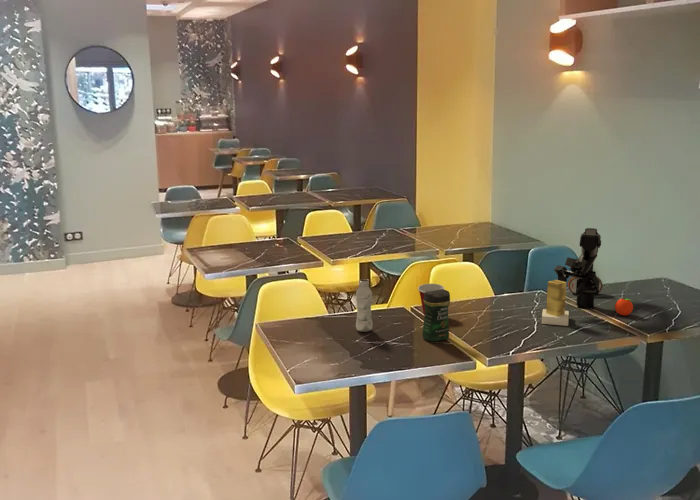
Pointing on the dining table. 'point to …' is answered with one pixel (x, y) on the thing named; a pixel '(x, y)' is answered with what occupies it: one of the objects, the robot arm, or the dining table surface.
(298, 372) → the dining table surface
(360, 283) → the plastic bottle
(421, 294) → the plastic cup
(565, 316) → the plinth
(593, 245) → the robot arm
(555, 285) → the pillar block
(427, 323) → the coffee jar
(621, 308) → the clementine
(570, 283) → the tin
